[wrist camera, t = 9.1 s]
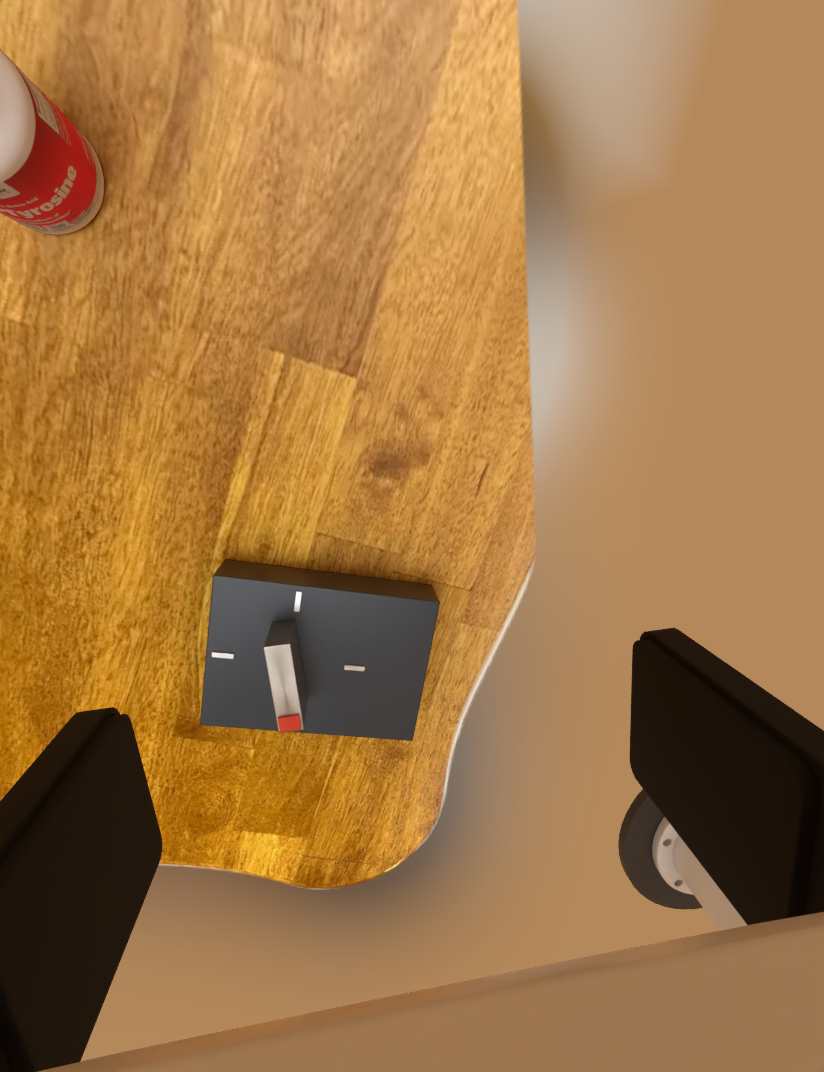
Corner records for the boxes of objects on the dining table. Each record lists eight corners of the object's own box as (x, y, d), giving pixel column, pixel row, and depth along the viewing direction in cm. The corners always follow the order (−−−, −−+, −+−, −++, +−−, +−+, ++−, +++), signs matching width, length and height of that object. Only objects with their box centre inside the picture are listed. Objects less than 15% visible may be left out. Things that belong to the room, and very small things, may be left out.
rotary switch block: (432, 584, 39) (440, 603, 36) (407, 713, 42) (412, 742, 38) (224, 558, 37) (212, 575, 33) (211, 697, 39) (198, 726, 36)
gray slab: (271, 622, 35) (262, 649, 31) (295, 619, 35) (289, 645, 31) (284, 701, 36) (278, 736, 33) (308, 698, 37) (304, 732, 33)
